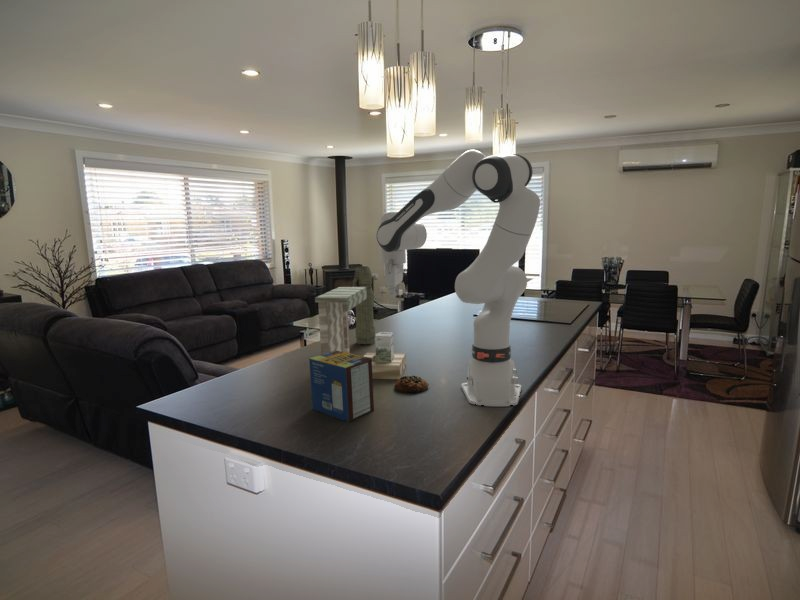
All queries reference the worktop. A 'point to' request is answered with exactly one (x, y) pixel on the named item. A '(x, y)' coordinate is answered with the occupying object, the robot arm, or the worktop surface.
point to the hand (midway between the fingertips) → (394, 297)
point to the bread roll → (411, 384)
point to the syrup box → (384, 347)
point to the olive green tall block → (365, 307)
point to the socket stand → (337, 331)
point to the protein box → (342, 384)
